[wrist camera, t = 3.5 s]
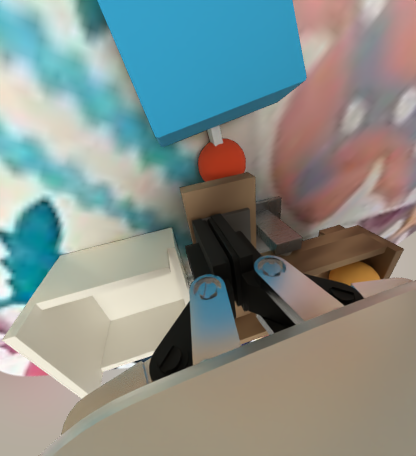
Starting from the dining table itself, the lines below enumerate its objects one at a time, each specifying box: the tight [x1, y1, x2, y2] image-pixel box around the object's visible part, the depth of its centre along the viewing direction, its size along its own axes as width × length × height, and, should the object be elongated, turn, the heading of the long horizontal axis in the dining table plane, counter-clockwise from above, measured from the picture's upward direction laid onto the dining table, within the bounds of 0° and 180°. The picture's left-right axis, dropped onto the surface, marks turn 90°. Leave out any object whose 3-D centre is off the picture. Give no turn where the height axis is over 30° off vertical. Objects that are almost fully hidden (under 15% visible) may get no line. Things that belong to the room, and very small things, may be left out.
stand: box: [256, 196, 303, 256], centre depth 18 cm, size 5×10×6 cm, turn 10°
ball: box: [329, 261, 380, 286], centre depth 15 cm, size 3×3×3 cm
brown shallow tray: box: [180, 172, 404, 344], centre depth 14 cm, size 14×12×5 cm
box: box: [2, 227, 190, 398], centre depth 15 cm, size 9×9×7 cm
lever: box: [97, 0, 307, 182], centre depth 10 cm, size 7×7×18 cm
